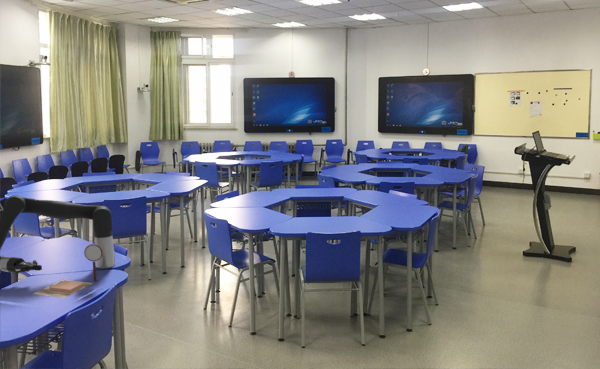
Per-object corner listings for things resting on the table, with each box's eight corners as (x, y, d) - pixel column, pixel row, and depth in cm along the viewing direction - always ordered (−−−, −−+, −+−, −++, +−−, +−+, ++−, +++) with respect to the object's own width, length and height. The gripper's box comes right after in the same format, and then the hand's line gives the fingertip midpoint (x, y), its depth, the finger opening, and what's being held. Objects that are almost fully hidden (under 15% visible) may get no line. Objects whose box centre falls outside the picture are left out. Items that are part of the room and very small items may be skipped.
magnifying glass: (86, 283, 260) (83, 245, 257) (87, 282, 262) (84, 244, 259) (103, 283, 261) (101, 244, 258) (104, 282, 263) (102, 243, 260)
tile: (64, 280, 257) (84, 282, 254) (64, 284, 257) (84, 286, 254) (49, 287, 247) (70, 289, 244) (49, 291, 248) (70, 293, 244)
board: (63, 281, 264) (62, 279, 263) (93, 285, 259) (93, 283, 258) (32, 295, 245) (32, 293, 244) (64, 299, 240) (64, 297, 239)
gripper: (0, 261, 251) (29, 264, 246) (21, 253, 264) (50, 256, 259) (1, 276, 252) (30, 279, 248) (22, 267, 265) (51, 271, 260)
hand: (40, 268), depth 253 cm, fingers closed
